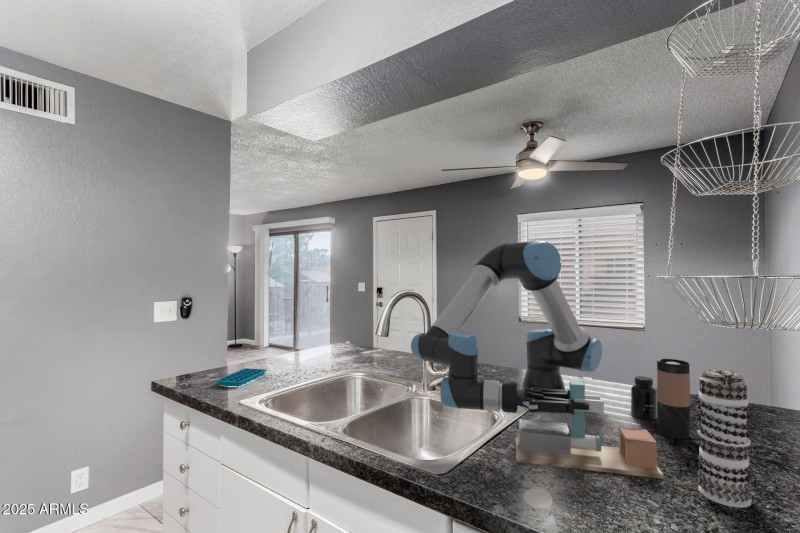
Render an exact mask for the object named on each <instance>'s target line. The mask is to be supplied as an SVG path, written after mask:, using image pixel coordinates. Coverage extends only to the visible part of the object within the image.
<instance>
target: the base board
mask: <svg viewBox="0 0 800 533" xmlns="http://www.w3.org/2000/svg"><path fill="white" fill-rule="evenodd" d="M515 461H516V463H524V464H526V463H527V464H534V465H540V466H541V465H543V466H551V467H559V468H568V469H569V468H570V469H575V470H577V469H578V470H582V471H583V470H584V471H585V470H586V471H593V472H599V473H608V474H617V475H626V476H636V477H644V478H650V479H651V478H653V479H660V480H664V473H663V472H662V471H661V469H660V467H658V465H657V469H654V468H645V467H636V466H627V464H626V463H625V461H624V459H623V457H622V456H621V454H620V452H619V446H618V447H617V446H607V445H601V452H599V451H592V450H582V449H573V448H571V459H567V458H558V457H549V456H540V455H531V454H523V453H520V446H519V436H515Z"/></svg>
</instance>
